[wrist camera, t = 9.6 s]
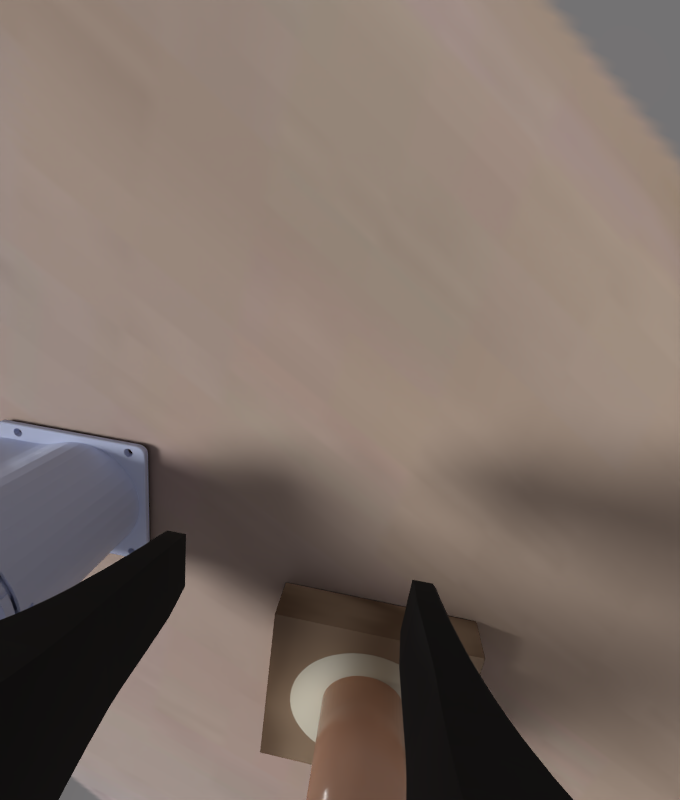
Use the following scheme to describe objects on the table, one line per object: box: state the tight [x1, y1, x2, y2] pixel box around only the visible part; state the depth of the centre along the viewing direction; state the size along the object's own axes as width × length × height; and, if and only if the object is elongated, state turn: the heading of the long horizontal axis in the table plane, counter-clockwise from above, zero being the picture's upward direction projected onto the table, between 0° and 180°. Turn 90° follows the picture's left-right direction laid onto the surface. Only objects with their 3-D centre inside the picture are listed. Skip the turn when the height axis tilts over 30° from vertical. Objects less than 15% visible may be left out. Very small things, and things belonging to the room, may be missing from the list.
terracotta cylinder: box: [306, 676, 406, 800], centre depth 22 cm, size 5×5×6 cm
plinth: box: [260, 583, 485, 765], centre depth 26 cm, size 12×12×2 cm
